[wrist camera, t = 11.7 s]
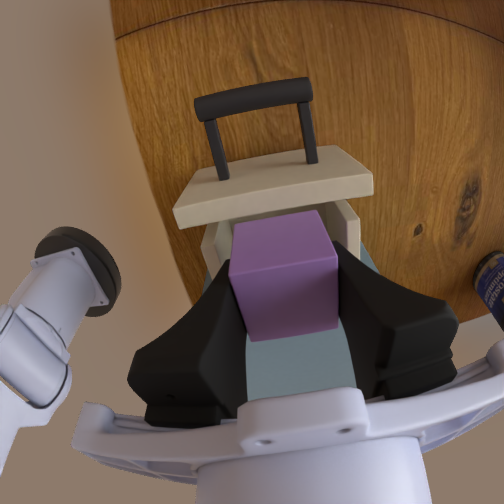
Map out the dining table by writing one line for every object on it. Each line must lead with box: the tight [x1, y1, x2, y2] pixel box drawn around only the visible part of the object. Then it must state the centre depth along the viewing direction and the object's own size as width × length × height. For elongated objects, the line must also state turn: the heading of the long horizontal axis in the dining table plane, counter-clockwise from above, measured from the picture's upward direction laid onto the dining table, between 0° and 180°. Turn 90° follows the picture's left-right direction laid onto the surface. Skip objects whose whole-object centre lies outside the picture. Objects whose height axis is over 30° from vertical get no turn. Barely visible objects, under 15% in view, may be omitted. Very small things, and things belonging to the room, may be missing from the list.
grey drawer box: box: [202, 241, 379, 401], centre depth 22 cm, size 14×11×9 cm
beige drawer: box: [172, 77, 373, 281], centre depth 17 cm, size 17×10×7 cm, turn 12°
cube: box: [228, 210, 339, 342], centre depth 13 cm, size 4×4×4 cm
